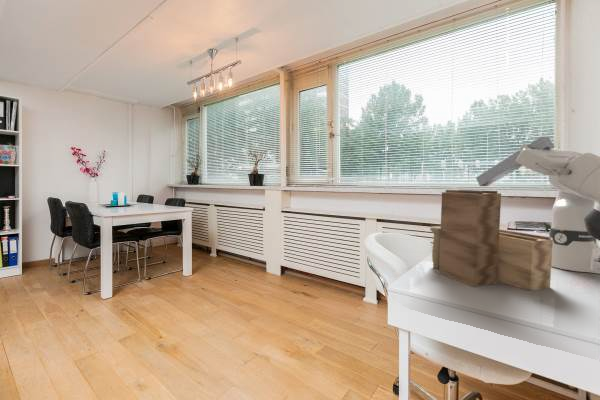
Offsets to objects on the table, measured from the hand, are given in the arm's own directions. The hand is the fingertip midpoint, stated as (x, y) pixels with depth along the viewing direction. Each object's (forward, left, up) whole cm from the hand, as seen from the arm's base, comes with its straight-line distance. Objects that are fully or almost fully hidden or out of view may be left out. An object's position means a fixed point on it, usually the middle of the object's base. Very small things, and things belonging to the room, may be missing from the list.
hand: (527, 148), depth 76 cm
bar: (0, -3, -5) cm, 6 cm away
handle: (-1, -29, -41) cm, 50 cm away
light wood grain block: (-13, -10, -40) cm, 43 cm away
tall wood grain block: (-1, -17, -40) cm, 44 cm away
